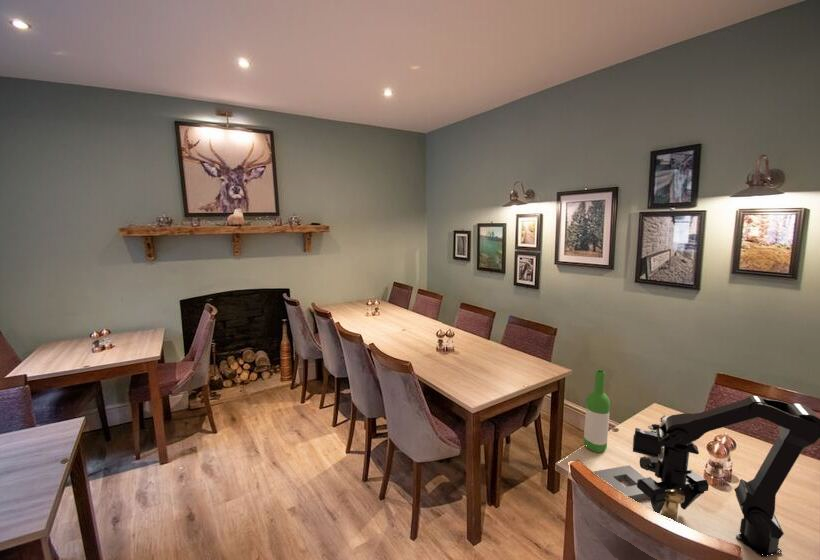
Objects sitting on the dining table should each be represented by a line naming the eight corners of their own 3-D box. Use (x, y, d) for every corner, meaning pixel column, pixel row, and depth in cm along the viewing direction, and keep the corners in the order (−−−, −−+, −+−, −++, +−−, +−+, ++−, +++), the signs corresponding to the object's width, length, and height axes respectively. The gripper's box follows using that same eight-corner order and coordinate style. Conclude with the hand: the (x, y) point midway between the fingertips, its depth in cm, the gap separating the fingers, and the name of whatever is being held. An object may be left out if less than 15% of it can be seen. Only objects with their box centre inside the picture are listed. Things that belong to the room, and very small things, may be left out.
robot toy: (679, 449, 137) (699, 435, 144) (679, 438, 136) (700, 424, 143) (645, 433, 148) (666, 420, 155) (645, 422, 147) (666, 411, 154)
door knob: (687, 522, 103) (690, 496, 102) (669, 526, 102) (672, 500, 100) (668, 506, 109) (671, 481, 107) (651, 509, 107) (653, 485, 106)
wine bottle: (591, 438, 143) (596, 365, 138) (610, 448, 136) (617, 372, 132) (579, 445, 139) (584, 370, 134) (599, 456, 132) (604, 377, 127)
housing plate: (659, 495, 113) (660, 490, 112) (620, 503, 110) (620, 497, 110) (628, 470, 124) (629, 465, 124) (592, 476, 121) (593, 471, 121)
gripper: (676, 440, 112) (671, 486, 115) (624, 448, 108) (620, 496, 111) (713, 463, 101) (706, 513, 104) (656, 473, 98) (651, 525, 100)
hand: (669, 511), depth 105 cm, fingers open, 9 cm apart
